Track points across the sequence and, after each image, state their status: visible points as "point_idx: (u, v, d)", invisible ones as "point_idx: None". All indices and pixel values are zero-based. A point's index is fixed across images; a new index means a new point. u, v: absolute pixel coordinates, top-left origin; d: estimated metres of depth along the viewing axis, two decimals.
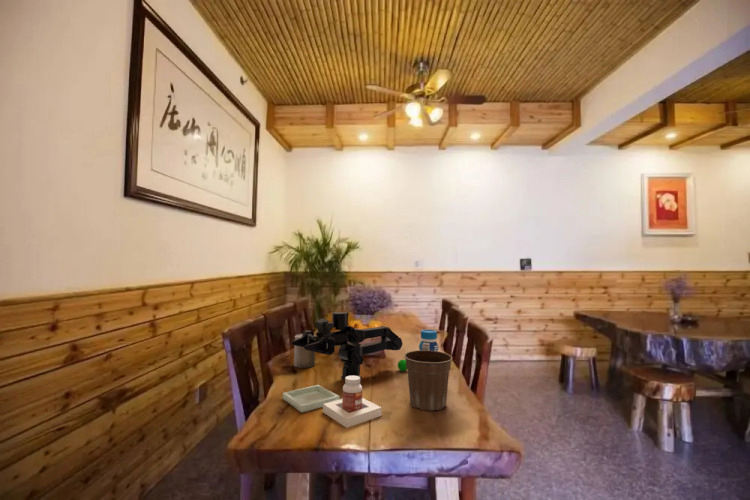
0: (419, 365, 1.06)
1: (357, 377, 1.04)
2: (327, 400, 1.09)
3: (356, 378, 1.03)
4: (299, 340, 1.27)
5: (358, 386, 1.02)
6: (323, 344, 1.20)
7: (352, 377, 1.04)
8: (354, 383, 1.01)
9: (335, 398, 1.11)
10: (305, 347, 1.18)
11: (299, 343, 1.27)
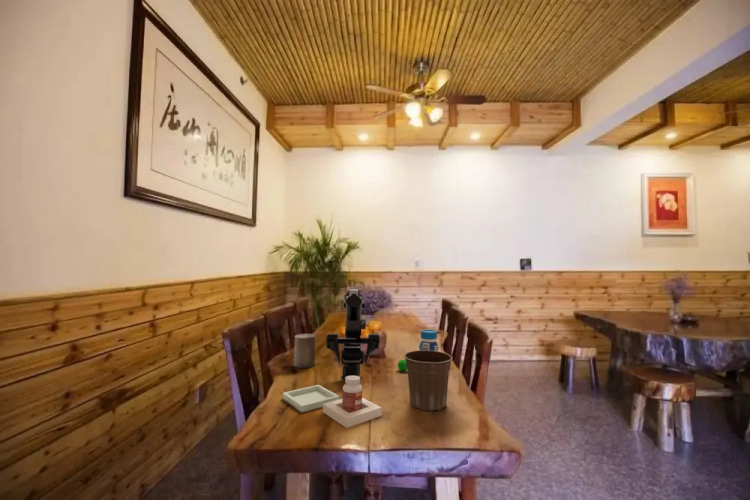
0: (419, 365, 1.06)
1: (357, 377, 1.04)
2: (327, 400, 1.09)
3: (356, 378, 1.03)
4: None
5: (358, 386, 1.02)
6: (372, 345, 1.16)
7: (352, 377, 1.04)
8: (354, 383, 1.01)
9: (335, 398, 1.11)
10: (366, 362, 1.12)
11: None
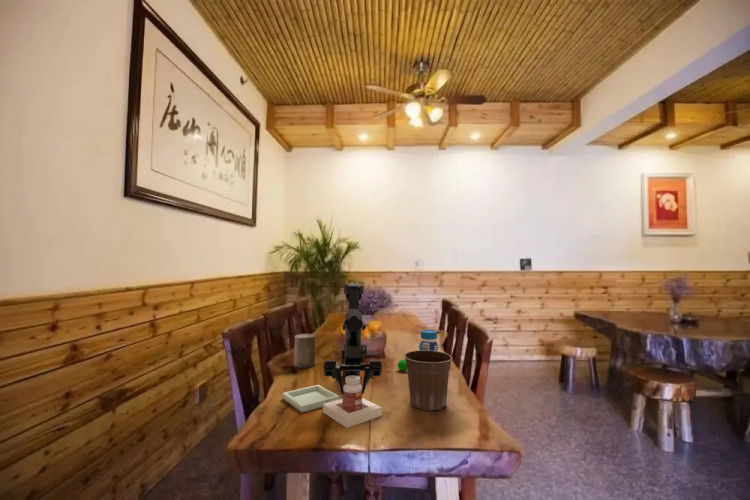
0: (419, 365, 1.06)
1: (357, 377, 1.04)
2: (327, 400, 1.09)
3: (356, 378, 1.03)
4: None
5: (358, 386, 1.02)
6: (370, 373, 1.07)
7: (352, 377, 1.04)
8: (354, 383, 1.01)
9: (335, 398, 1.11)
10: (363, 392, 1.02)
11: None
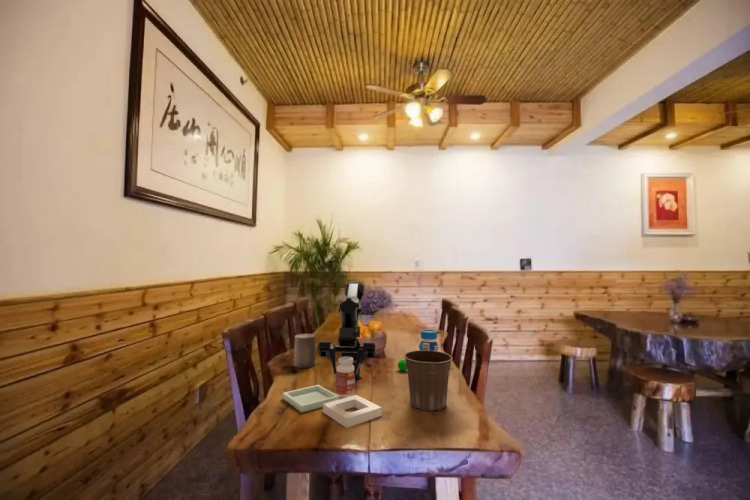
0: (419, 365, 1.06)
1: (350, 358, 1.05)
2: (327, 400, 1.09)
3: (349, 359, 1.04)
4: (335, 363, 1.05)
5: (350, 366, 1.03)
6: (363, 354, 1.08)
7: (345, 358, 1.05)
8: (346, 363, 1.02)
9: (335, 398, 1.11)
10: (356, 373, 1.03)
11: (335, 365, 1.06)
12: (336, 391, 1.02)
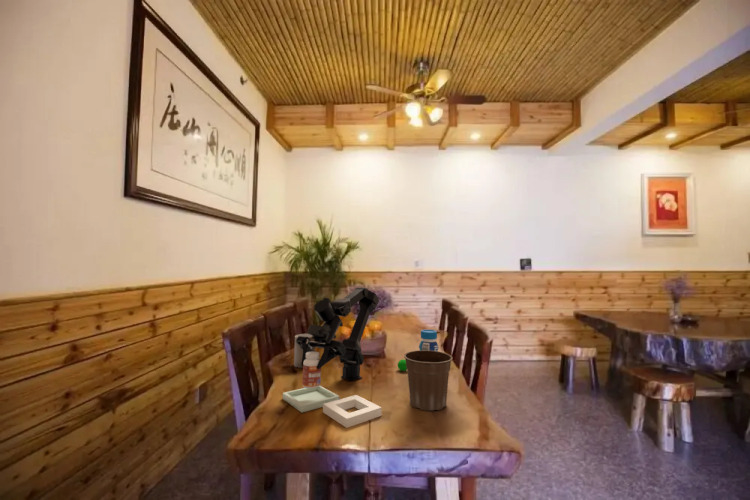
0: (419, 365, 1.06)
1: (316, 353, 1.13)
2: (327, 400, 1.09)
3: (314, 354, 1.12)
4: (305, 356, 1.15)
5: (314, 361, 1.11)
6: (330, 351, 1.14)
7: (312, 352, 1.14)
8: (309, 357, 1.11)
9: (335, 398, 1.11)
10: (318, 367, 1.11)
11: None
12: None
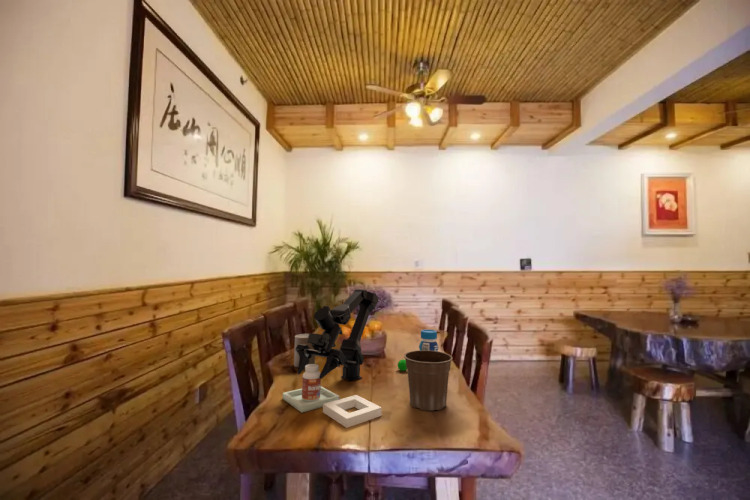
0: (419, 365, 1.06)
1: (316, 366, 1.13)
2: (327, 400, 1.09)
3: (313, 366, 1.12)
4: (301, 364, 1.16)
5: (313, 374, 1.11)
6: (333, 361, 1.13)
7: (312, 365, 1.14)
8: (309, 370, 1.11)
9: (335, 398, 1.11)
10: (320, 377, 1.10)
11: (303, 366, 1.16)
12: (302, 395, 1.12)
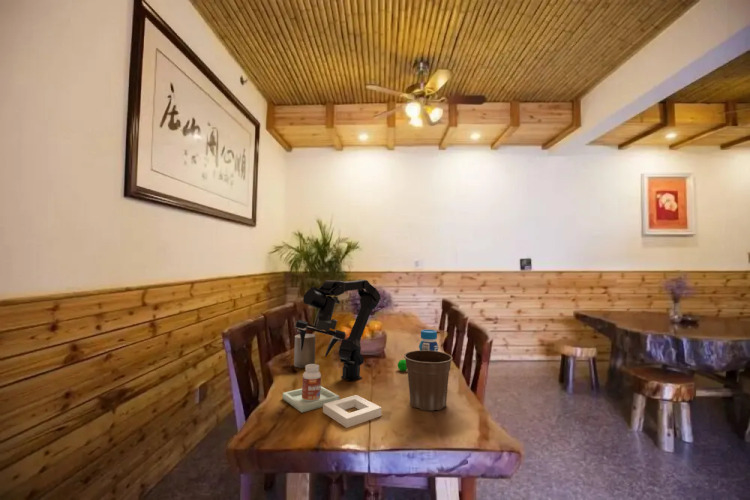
0: (419, 365, 1.06)
1: (316, 366, 1.13)
2: (327, 400, 1.09)
3: (313, 366, 1.12)
4: (303, 341, 1.20)
5: (313, 374, 1.11)
6: None
7: (312, 365, 1.14)
8: (309, 370, 1.11)
9: (335, 398, 1.11)
10: (326, 356, 1.21)
11: None
12: (302, 395, 1.12)
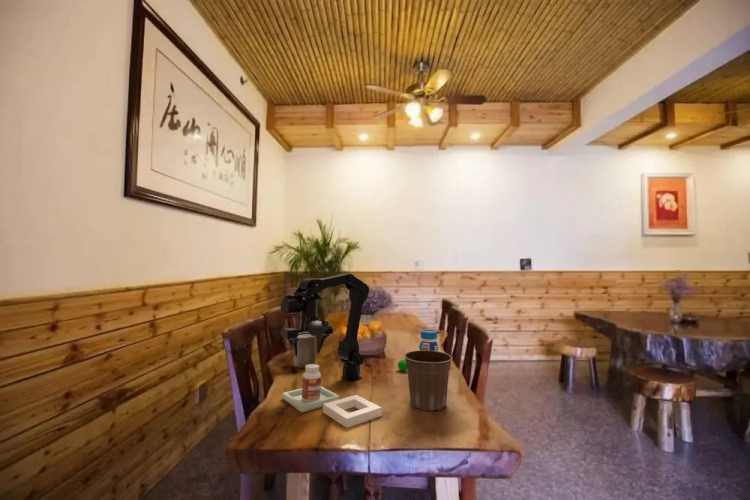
0: (419, 365, 1.06)
1: (316, 366, 1.13)
2: (327, 400, 1.09)
3: (313, 366, 1.12)
4: None
5: (313, 374, 1.11)
6: None
7: (312, 365, 1.14)
8: (309, 370, 1.11)
9: (335, 398, 1.11)
10: None
11: None
12: (302, 395, 1.12)
